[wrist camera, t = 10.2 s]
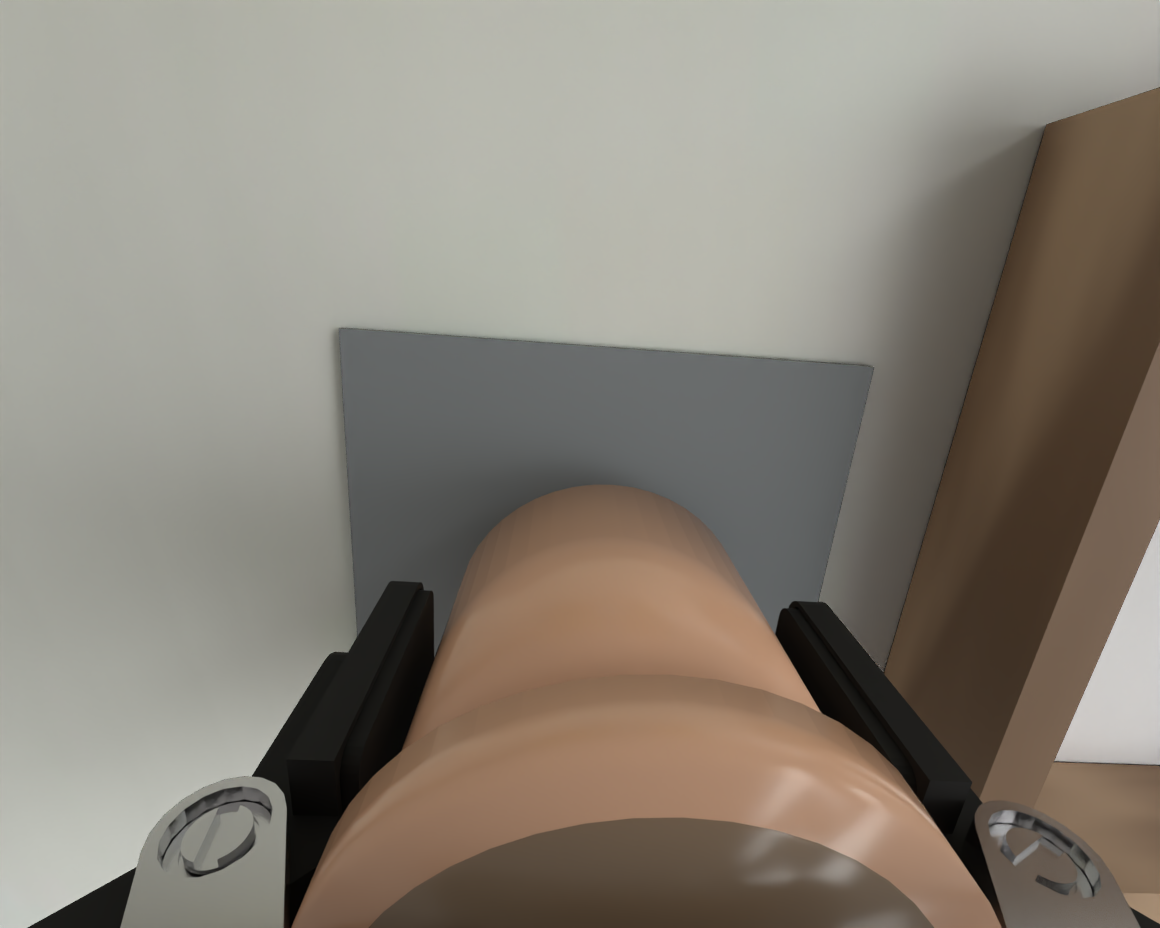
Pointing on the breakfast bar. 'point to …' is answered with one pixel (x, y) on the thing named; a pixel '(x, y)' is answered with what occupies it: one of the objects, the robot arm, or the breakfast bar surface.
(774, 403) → the slate mat
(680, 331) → the breakfast bar surface
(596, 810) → the terracotta pot
